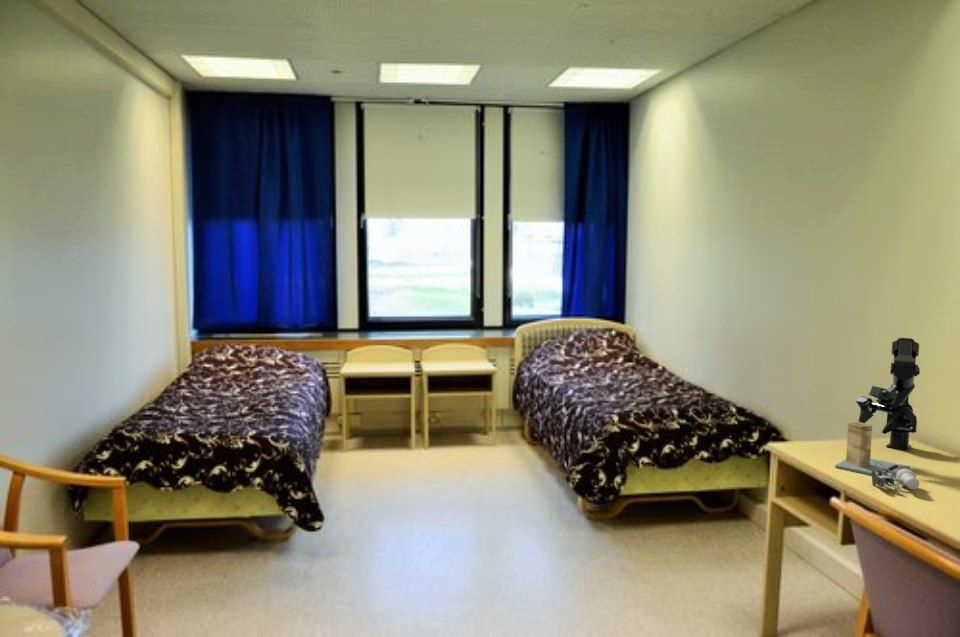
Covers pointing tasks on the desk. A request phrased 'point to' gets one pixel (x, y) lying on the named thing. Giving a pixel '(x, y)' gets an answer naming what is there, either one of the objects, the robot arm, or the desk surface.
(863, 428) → the upright wooden block
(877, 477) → the clip-on lamp
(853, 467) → the slate mat
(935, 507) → the desk surface
